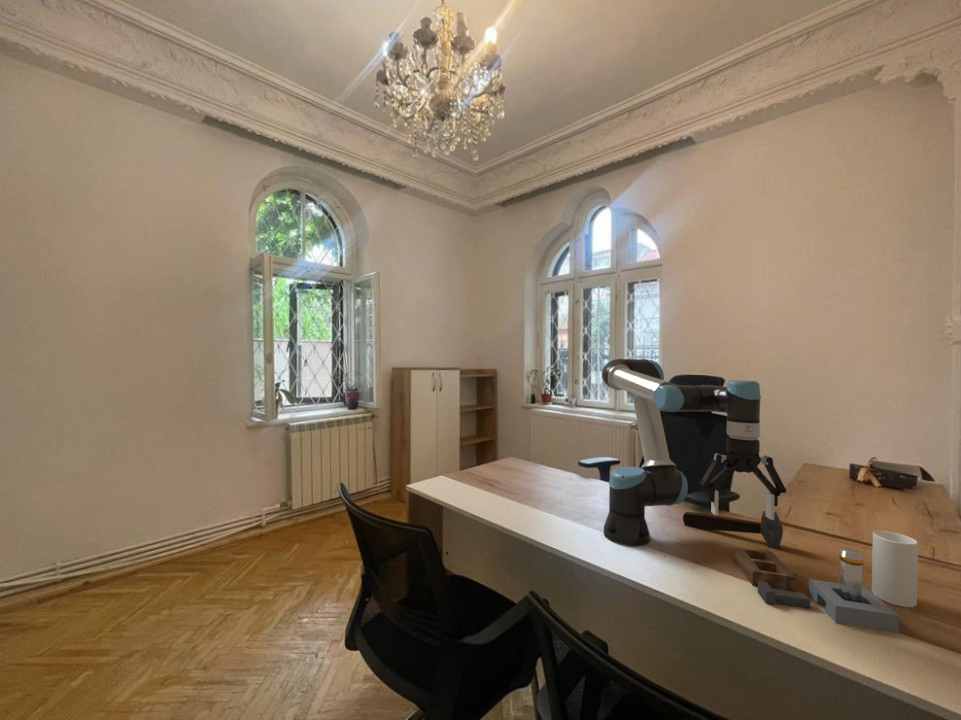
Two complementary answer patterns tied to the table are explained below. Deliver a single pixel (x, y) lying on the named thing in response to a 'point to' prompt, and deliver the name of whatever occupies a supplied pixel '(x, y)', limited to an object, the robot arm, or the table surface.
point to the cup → (894, 568)
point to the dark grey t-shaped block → (782, 596)
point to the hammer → (738, 525)
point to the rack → (764, 569)
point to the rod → (851, 574)
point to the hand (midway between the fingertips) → (741, 516)
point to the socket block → (854, 607)
